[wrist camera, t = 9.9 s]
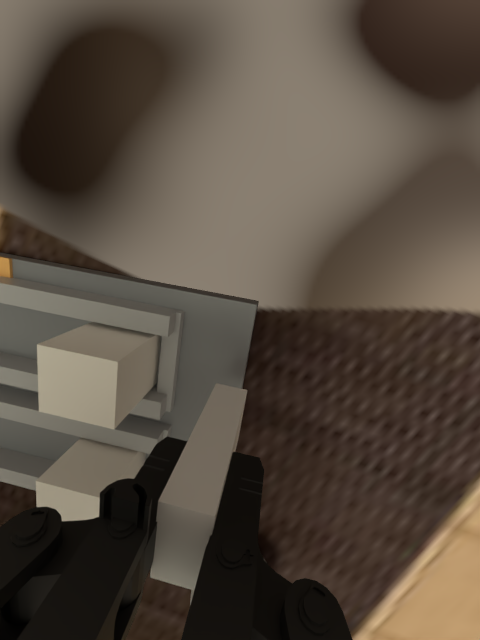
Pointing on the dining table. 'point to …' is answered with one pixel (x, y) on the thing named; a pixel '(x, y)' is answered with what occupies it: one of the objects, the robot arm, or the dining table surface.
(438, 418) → the dining table surface
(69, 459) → the tab
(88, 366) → the tab
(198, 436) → the robot arm
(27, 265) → the switch board
